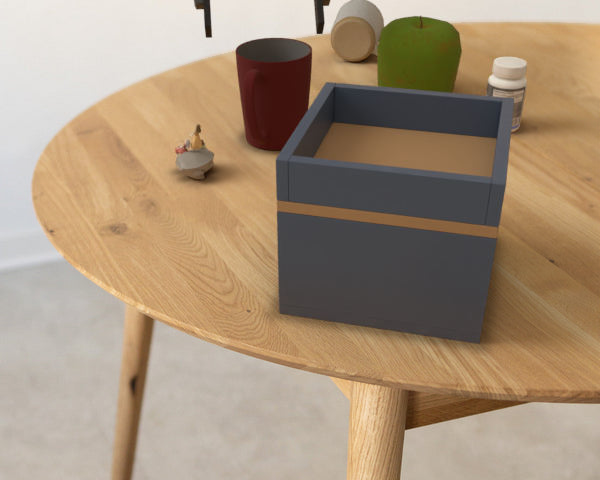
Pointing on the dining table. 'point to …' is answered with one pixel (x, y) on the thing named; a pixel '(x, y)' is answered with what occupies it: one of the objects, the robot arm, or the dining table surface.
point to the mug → (273, 88)
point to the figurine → (194, 156)
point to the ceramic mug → (357, 30)
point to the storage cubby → (393, 208)
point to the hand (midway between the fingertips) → (264, 30)
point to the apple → (418, 54)
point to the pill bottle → (509, 84)
